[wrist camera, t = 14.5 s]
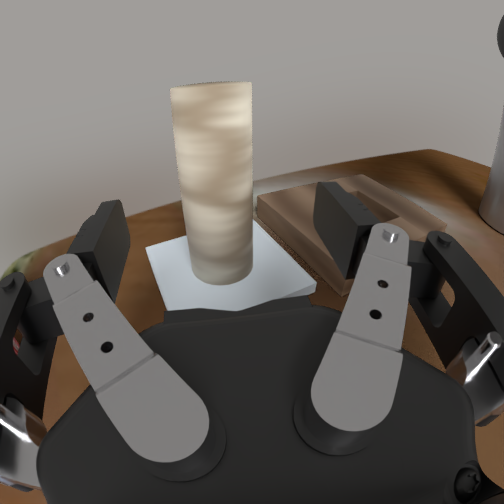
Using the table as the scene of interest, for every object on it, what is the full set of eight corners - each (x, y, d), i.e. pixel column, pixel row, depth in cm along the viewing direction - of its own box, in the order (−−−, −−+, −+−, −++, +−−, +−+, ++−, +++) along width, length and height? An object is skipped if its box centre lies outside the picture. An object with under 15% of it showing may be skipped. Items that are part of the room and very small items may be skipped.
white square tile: (251, 225, 31) (251, 217, 30) (315, 291, 23) (316, 282, 22) (147, 256, 27) (145, 247, 26) (180, 344, 19) (177, 335, 18)
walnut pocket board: (359, 190, 38) (362, 174, 36) (440, 243, 28) (447, 224, 26) (257, 216, 32) (257, 195, 31) (341, 296, 22) (347, 272, 21)
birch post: (237, 240, 27) (231, 80, 18) (264, 272, 23) (267, 83, 15) (184, 256, 25) (163, 88, 16) (204, 293, 21) (181, 90, 13)
